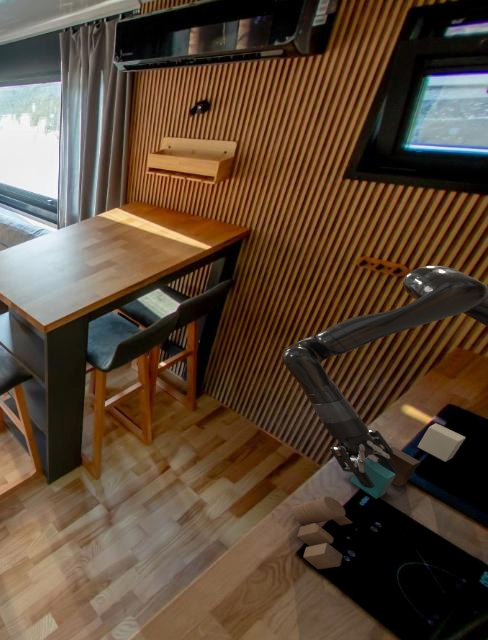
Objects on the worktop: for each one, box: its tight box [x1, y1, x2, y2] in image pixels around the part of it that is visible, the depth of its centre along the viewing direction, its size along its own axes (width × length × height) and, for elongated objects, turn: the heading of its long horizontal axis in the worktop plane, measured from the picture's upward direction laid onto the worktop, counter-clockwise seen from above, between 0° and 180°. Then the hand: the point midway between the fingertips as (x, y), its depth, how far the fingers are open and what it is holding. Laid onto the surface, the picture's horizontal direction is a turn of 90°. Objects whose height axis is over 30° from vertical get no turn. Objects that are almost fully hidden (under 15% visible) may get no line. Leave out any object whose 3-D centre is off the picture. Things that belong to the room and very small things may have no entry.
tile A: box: [417, 423, 466, 463], centre depth 97 cm, size 3×5×8 cm, turn 19°
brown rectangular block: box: [375, 446, 421, 488], centre depth 93 cm, size 3×5×8 cm, turn 17°
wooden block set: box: [291, 496, 353, 570], centre depth 84 cm, size 18×9×10 cm, turn 130°
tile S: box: [350, 457, 396, 500], centre depth 92 cm, size 3×5×8 cm, turn 17°
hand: (381, 480), depth 90 cm, fingers open, 8 cm apart
